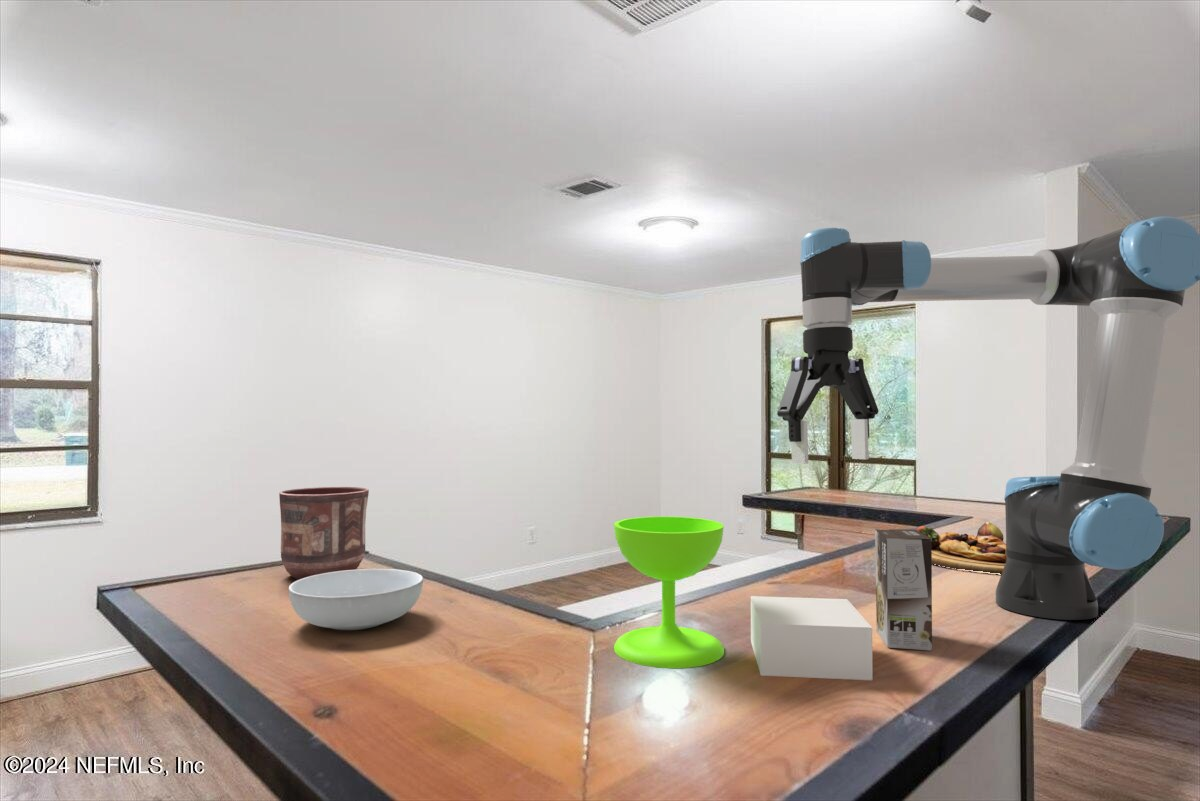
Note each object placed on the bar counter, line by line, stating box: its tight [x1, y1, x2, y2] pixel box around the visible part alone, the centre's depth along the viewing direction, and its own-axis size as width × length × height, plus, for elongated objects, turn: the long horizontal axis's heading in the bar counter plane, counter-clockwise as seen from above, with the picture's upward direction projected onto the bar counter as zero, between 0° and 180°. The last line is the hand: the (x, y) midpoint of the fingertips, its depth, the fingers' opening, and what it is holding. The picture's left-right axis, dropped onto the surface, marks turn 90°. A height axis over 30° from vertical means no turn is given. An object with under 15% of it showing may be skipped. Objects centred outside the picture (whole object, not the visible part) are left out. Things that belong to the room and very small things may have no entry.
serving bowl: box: [288, 568, 424, 631], centre depth 115 cm, size 21×21×7 cm
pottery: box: [279, 486, 370, 581], centre depth 150 cm, size 18×18×18 cm
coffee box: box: [874, 528, 933, 652], centre depth 106 cm, size 9×6×16 cm
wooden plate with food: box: [916, 521, 1006, 574], centre depth 164 cm, size 32×32×8 cm
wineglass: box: [613, 515, 725, 669], centre depth 102 cm, size 16×16×18 cm
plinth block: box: [750, 595, 874, 681], centre depth 97 cm, size 14×14×7 cm
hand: (831, 461), depth 111 cm, fingers open, 13 cm apart
